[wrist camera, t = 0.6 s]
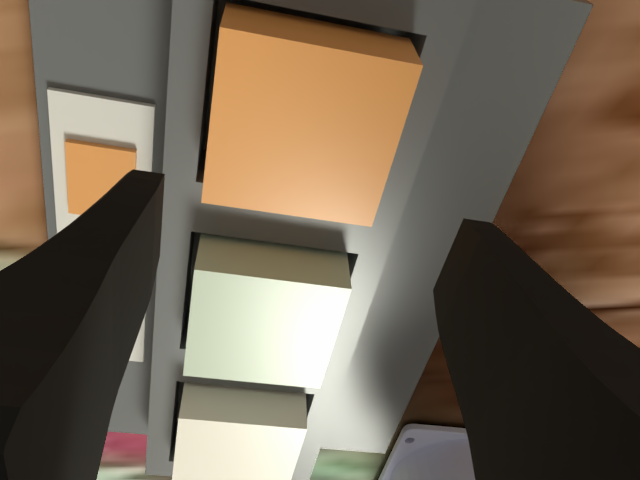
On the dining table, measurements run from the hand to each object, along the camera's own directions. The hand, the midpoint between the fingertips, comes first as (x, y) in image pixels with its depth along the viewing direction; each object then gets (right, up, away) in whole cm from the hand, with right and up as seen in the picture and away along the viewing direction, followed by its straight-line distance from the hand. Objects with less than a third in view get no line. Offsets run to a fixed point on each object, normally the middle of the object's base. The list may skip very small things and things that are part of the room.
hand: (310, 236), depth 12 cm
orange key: (0, +4, +5) cm, 6 cm away
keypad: (-2, 0, +12) cm, 12 cm away
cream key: (-3, -8, +14) cm, 16 cm away
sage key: (-2, -2, +9) cm, 10 cm away
